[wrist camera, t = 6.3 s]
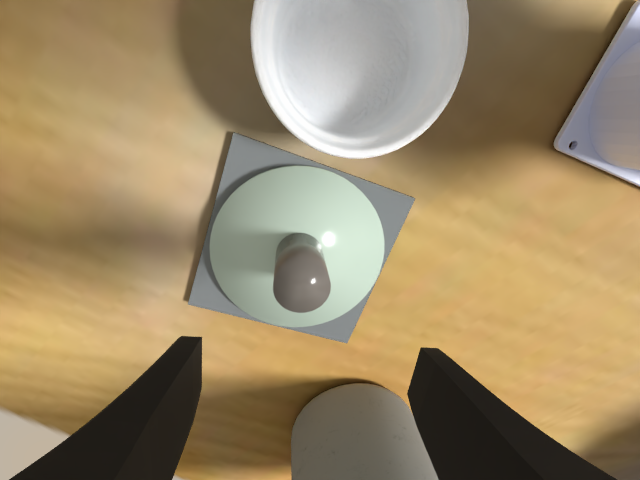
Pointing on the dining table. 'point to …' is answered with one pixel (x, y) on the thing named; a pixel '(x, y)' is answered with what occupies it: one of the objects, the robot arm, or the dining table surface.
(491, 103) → the dining table surface
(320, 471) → the water bottle
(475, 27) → the dining table surface
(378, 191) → the mat
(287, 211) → the lid
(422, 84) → the ramekin
